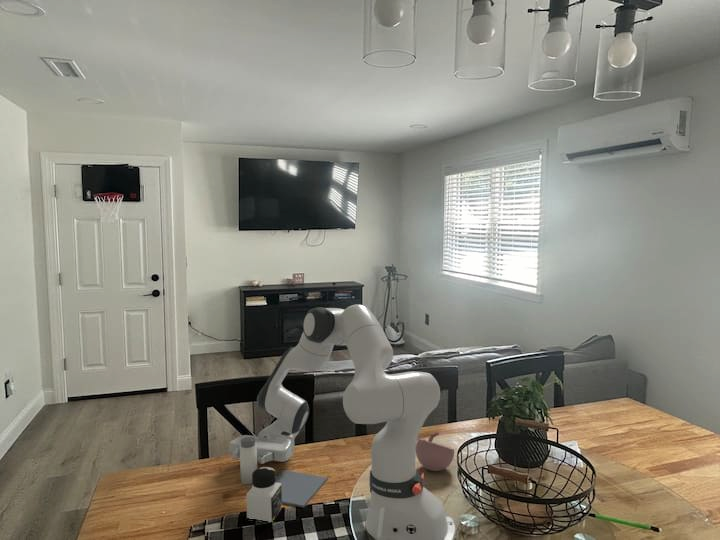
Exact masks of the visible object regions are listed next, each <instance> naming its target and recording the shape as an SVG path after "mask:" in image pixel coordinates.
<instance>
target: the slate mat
mask: <svg viewBox="0 0 720 540" xmlns="http://www.w3.org/2000/svg"><path fill="white" fill-rule="evenodd" d="M275 480H276V483H281V491H282V505H289V506H293V507H297V508H298V507H299V508H305V507H306V506H307V505H308V504H309V502H310V501H311V500H312V499H313V497H314V496H316V494H317V493H318V491H319V490H320V489H321V488H322V487H323V486H324V484H325V483H326V482H327V481H328V480H329V479H328V477H325V476H321V475H314V474H308V473H305V472H304V473H303V472H299V471H298V472H297V471H293V470H287V469H283V470H282V471H281V472H280V473H279V474H278V475H276V476H275Z"/></svg>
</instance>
